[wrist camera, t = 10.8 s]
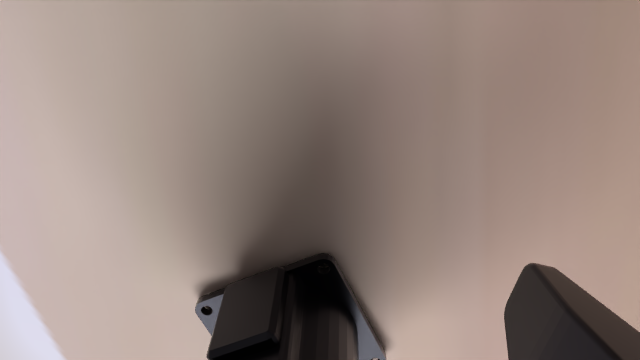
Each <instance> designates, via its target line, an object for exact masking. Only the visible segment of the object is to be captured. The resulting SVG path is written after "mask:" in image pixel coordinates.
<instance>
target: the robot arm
mask: <svg viewBox="0 0 640 360" xmlns="http://www.w3.org/2000/svg"><path fill="white" fill-rule="evenodd" d="M321 264H326V265H328V266H329V267H327V268H320V267H319V265H321ZM203 306H209V307H211V308H212V309H206V308H205V307H203ZM195 311H196V314H197V315H198V317H199V318H200V320H201V321H202V323H203V324H204V325H205V327H206V328H207V330H208V331H209V333H210V334H211V336H212V337H211V341H210V344H209V348H208V351H207V359H208V360H372V358H378V360H386V354H385V351H384V349H383V347H382V346H381V344H380V342H379V340H378V338H377V336H376V334H375V333H374V331H373V329H372V327H371V325H370V323H369V321H368V320H367V318H366V316H365V314H364V312H363V310H362V308H361V307H360V305H359V303H358V301H357V299H356V297H355V296H354V294H353V292H352V290H351V288H350V286H349V284H348V283H347V281H346V279H345V277H344V275H343V273H342V271H341V270H340V268H339V266H338V264H337V262H336V260H335V259H334V258H333V256H331V255H329V254H325V253H322V254H318V255H315V256H312V257H310V258H307V259H304V260H301V261H299V262H296V263H293V264H290V265H288V266H285V267H275V268H273V269H270V270H267V271H264V272H262V273H259V274H256V275H253V276H251V277H248V278H245V279H242V280H240V281H237V282H234V283H231V284H229V285H227V286H226V288H224V289H221V290H219V291H216V292H213V293H210V294H208V295H205V296H202V297H201V298H199V300H198V301H197V304H196V308H195ZM504 320H505V330H506V339H507V348H508V358H509V360H640V332H638V331H637V330H636V329H634V328H633V327H632V326H631V325H629V324H628V323H627V322H625V321H624V320H623V319H621V318H620V317H619V316H617V315H616V314H615V313H614V312H612V311H611V310H610V309H608V308H607V307H606V306H604V305H603V304H602V303H600V302H599V301H598V300H596V299H595V298H594V297H593V296H591V295H590V294H589V293H587V292H586V291H585V290H583V289H582V288H581V287H579V286H578V285H577V284H576V283H574V282H573V281H572V280H570V279H569V278H568V277H566V276H565V275H564V274H562V273H561V272H560V271H558V270H557V269H556V268H553V267H550V266H545V265H540V264H536V263H530V264H528V265H526V266H525V267H524V269H523V270H522V272H521V274H520V276H519V278H518V280H517V282H516V284H515V287H514V289H513V291H512V293H511V295H510V297H509V299H508V301H507V304H506V307H505V312H504Z"/></svg>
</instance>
